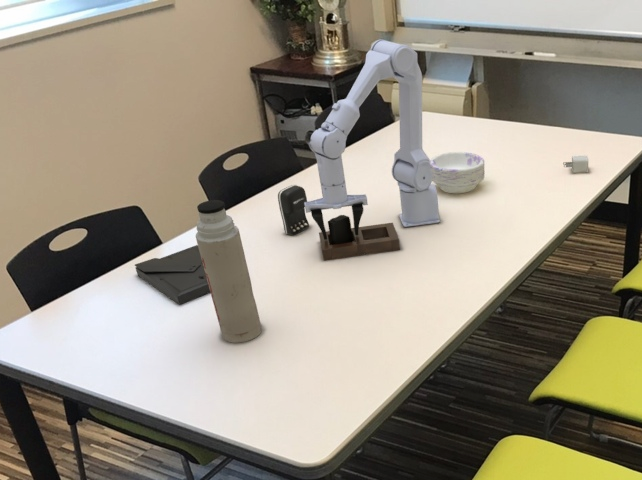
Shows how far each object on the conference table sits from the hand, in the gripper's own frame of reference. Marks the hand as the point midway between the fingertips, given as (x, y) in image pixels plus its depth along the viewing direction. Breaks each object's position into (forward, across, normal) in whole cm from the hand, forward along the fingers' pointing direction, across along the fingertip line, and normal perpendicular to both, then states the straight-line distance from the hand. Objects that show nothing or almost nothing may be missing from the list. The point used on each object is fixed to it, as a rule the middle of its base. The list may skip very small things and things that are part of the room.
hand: (341, 235), depth 192 cm
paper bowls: (+4, +35, +29) cm, 46 cm away
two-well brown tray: (+3, +4, 0) cm, 5 cm away
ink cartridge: (+4, 0, 0) cm, 4 cm away
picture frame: (+4, -36, -4) cm, 36 cm away
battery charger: (+4, -10, +14) cm, 18 cm away
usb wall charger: (+4, +70, +30) cm, 76 cm away
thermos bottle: (+4, -24, -33) cm, 41 cm away
